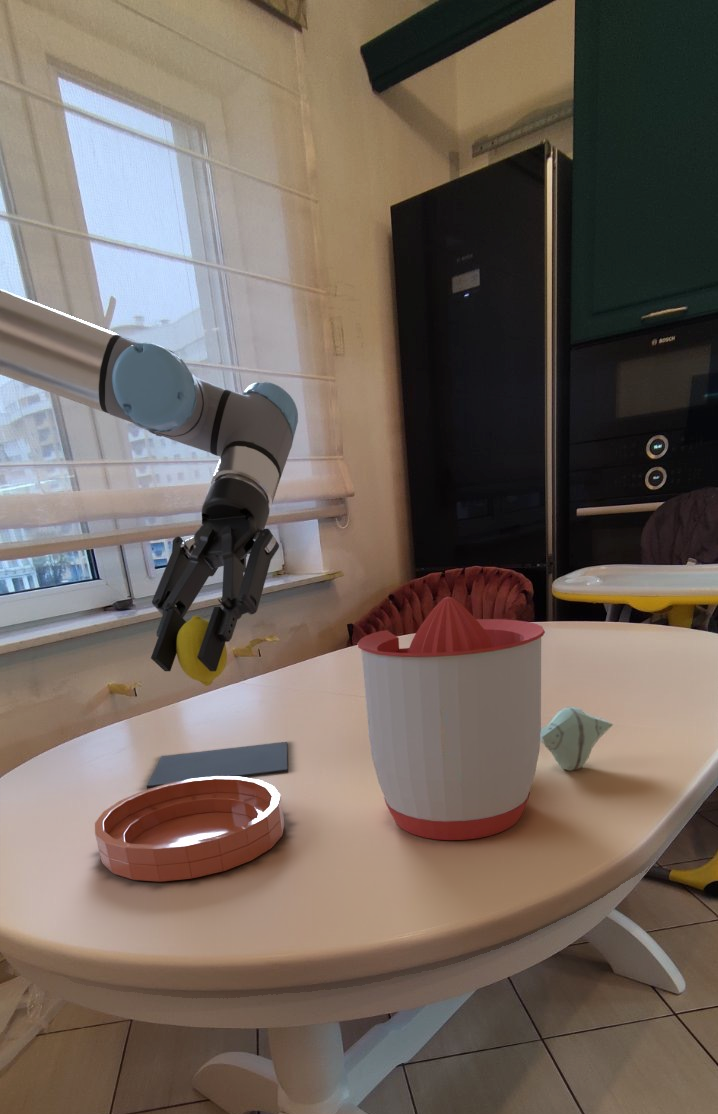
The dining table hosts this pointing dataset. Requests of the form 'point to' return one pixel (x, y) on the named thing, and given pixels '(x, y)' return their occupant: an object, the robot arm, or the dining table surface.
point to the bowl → (190, 828)
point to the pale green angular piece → (572, 736)
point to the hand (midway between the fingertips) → (183, 664)
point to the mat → (221, 763)
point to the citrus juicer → (455, 721)
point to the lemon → (196, 651)
